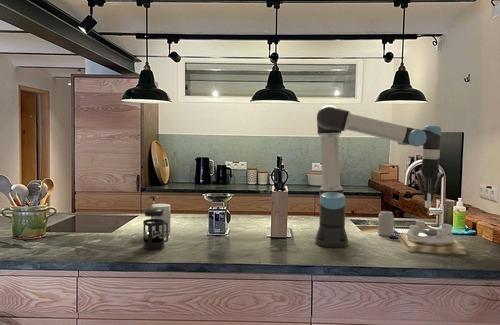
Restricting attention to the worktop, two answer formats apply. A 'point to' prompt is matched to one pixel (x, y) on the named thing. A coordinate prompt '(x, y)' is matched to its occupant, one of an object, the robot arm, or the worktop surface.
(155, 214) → the french press
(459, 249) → the base plate
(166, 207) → the supplement tub
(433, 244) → the ring nut
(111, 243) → the worktop surface
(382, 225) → the can
